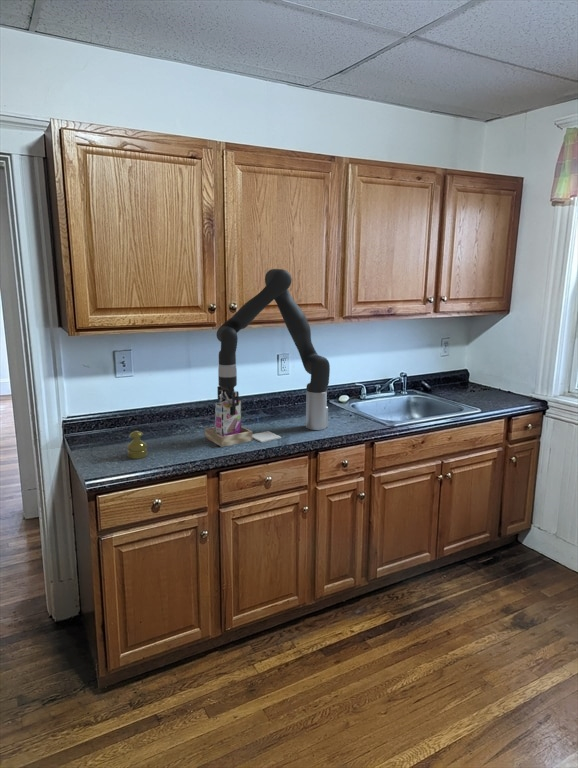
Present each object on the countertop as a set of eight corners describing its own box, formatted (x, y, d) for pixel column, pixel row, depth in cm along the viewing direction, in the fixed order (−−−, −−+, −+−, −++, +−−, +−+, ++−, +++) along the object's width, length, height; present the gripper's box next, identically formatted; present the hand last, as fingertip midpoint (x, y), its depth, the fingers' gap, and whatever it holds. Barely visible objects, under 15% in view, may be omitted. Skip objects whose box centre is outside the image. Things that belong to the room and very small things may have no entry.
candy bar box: (223, 443, 218) (222, 405, 215) (214, 441, 222) (214, 403, 218) (242, 437, 227) (241, 400, 223) (233, 434, 230) (233, 398, 226)
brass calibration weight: (149, 452, 207) (148, 428, 205) (144, 459, 200) (143, 434, 198) (130, 452, 207) (128, 428, 205) (125, 459, 200) (123, 434, 198)
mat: (268, 432, 234) (268, 431, 233) (281, 438, 226) (281, 437, 225) (249, 436, 228) (249, 435, 228) (261, 442, 220) (261, 441, 220)
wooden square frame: (235, 431, 234) (234, 423, 233) (252, 440, 223) (252, 431, 222) (205, 437, 226) (205, 428, 225) (221, 446, 214) (221, 437, 213)
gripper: (244, 376, 215) (244, 415, 218) (227, 371, 226) (227, 407, 230) (228, 378, 210) (228, 418, 214) (211, 372, 222) (212, 410, 225)
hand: (228, 412), depth 222 cm, fingers open, 7 cm apart
